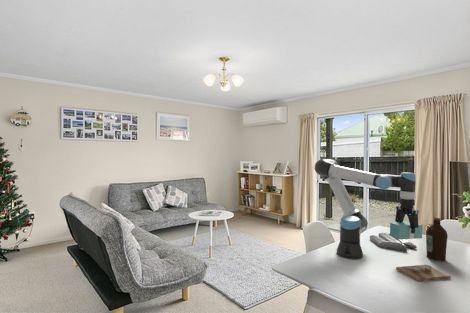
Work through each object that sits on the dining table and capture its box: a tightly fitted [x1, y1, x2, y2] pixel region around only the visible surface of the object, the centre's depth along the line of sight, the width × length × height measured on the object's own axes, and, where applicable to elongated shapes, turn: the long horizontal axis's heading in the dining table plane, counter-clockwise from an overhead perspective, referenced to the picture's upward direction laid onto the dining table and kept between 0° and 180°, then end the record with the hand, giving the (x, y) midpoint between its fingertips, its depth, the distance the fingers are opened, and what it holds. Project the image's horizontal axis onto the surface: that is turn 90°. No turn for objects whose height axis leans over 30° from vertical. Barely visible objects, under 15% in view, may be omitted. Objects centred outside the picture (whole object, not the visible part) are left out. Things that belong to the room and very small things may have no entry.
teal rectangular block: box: [389, 221, 423, 240], centre depth 161 cm, size 16×7×8 cm, turn 102°
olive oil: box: [425, 217, 449, 262], centre depth 165 cm, size 11×11×25 cm
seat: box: [395, 264, 452, 282], centre depth 143 cm, size 20×14×4 cm
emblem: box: [369, 232, 418, 253], centre depth 190 cm, size 28×5×28 cm
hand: (405, 236), depth 161 cm, fingers closed on teal rectangular block, 7 cm apart
